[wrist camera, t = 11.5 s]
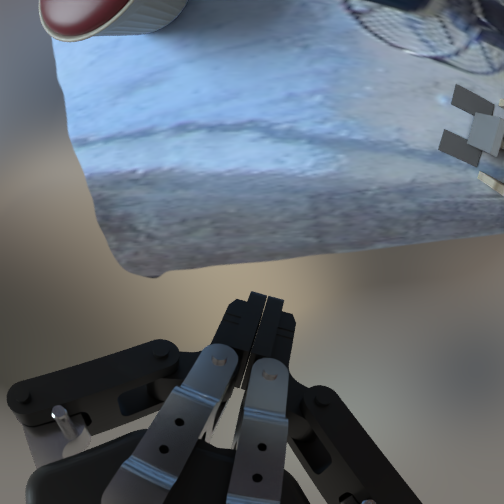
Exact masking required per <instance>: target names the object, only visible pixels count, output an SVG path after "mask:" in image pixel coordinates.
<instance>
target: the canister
mask: <svg viewBox="0 0 504 504" xmlns="http://www.w3.org/2000/svg"><path fill="white" fill-rule="evenodd" d="M187 1H188V0H39V16H40V20H41V23H42V25H43V27H44V29H45V30H46V32H47V33H48V34H49V35H50V36H51V37H53V38H55V39H57V40H59V41H63V42H77V41H82V40H85V39H88V38H90V37H92V36H121V35H141V34H148V33H150V32H155V31H157V30H159V29H162V28H163V27H164V26H167V25H168V24H169V23H170V22H172V21H174V19H175V18H176V17H178V16H179V14H180V13H181V12H182V11H183V9H184V7H185V6H186V3H187Z"/></svg>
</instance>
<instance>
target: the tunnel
mask: <svg viewBox="0 0 504 504" xmlns="http://www.w3.org/2000/svg"><path fill="white" fill-rule="evenodd" d="M499 106H500V107H502V108H503V109H504V99H500V102H499ZM478 179H479V180H481V181H482V182H484V183H485V184H487V185H488V186H490V187H491V188H493V189H494V190H495V191H497V192H498V193H500V194H501V195H502V196H504V183H502V182H500V181H498V180H496V179H494V178H493V177H491V176H489V175H487V174H485V173H483V172H481V171H480V172H479V175H478Z"/></svg>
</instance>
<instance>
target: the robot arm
mask: <svg viewBox="0 0 504 504" xmlns="http://www.w3.org/2000/svg"><path fill="white" fill-rule="evenodd" d="M266 298H267V296H266V295H263V294H260V293H256V292H253V291H252V292H251V293H250V296H249V298H248V301H247V302H246V301H243V300H239V299H236V300H235V301H233V302H232V303H231V304H229V306H228V308H227V310H226V312H225V314H224V316H223V319H222V321H221V323H220V325H219V327H218V329H217V332H216V334H215V336H214V338H213V340H212V342H211V344H210V345H208V346H207V347H205V348H204V349H203V350H202V351H199V352H179V349H178V348H177V346H176V345H175V344H173V343H172V342H170V341H167V340H163V339H158V340H153V341H150V342H147V343H144V344H141V345H138V346H135V347H132V348H129V349H126V350H123V351H120V352H117V353H114V354H111V355H107V356H104V357H101V358H98V359H95V360H92V361H89V362H85V363H82V364H79V365H76V366H72V367H69V368H66V369H62V370H59V371H55V372H52V373H49V374H45V375H42V376H38V377H35V378H31V379H27V380H24V381H20V382H17V383H15V384H14V385H12V387H11V388H10V389H9V391H8V394H7V403H8V406H9V407H10V409H11V410H12V411H13V413H14V414H15V416H16V418H17V420H18V421H19V422H20V424H21V425H22V426H23V429H24V433H25V436H26V439H27V442H28V445H29V448H30V451H31V454H32V457H33V460H34V463H35V466H36V468H37V470H36V471H35V472H33V474H32V475H31V476H30V478H29V480H28V483H27V485H26V504H310V502H309V501H308V499H307V497H306V496H305V494H304V492H303V491H302V489H301V487H300V486H299V484H298V483H297V481H296V480H295V479H294V477H293V476H292V475H291V474H290V473H289V472H287V471H286V470H285V469H284V464H285V454H286V444H287V442H288V444H289V445H290V447H291V448H292V450H293V452H294V453H295V455H296V456H297V458H298V459H299V461H300V462H301V464H302V466H303V467H304V469H305V470H306V472H307V474H308V475H309V477H310V478H311V479H312V481H313V483H314V484H315V486H316V487H317V489H318V490H319V492H320V493H321V495H322V496H323V497H324V499H325V500H326V502H327V503H328V504H422V503H421V501H420V500H419V499H418V498H417V496H416V495H415V494H414V492H413V491H412V490H411V489H410V487H409V486H408V485H407V484H406V482H405V481H404V480H403V478H402V477H401V476H400V475H399V473H398V472H397V471H396V470H395V468H394V467H393V466H392V464H391V463H390V462H389V461H388V459H387V458H386V457H385V456H384V454H383V453H382V452H381V450H380V449H379V448H378V447H377V445H376V444H375V443H374V441H373V440H372V439H371V437H370V436H369V435H368V434H367V432H366V431H365V430H364V428H363V427H362V426H361V425H360V423H359V422H358V421H357V419H356V418H355V417H354V416H353V414H352V413H351V412H350V410H349V409H348V408H347V406H346V405H345V404H344V402H343V401H342V400H341V398H340V397H339V396H338V394H336V392H335V391H333V390H332V389H331V388H329V387H326V386H321V385H317V386H313V387H310V388H307V387H305V386H304V385H302V384H300V383H299V382H297V381H296V380H295V379H294V378H293V377H292V376H291V374H290V372H289V360H290V354H291V349H292V343H293V337H294V331H295V326H296V322H295V319H294V317H293V314H290V313H286V312H283V311H282V307H283V303H284V300H282V299H278V298H275V297H271V296H268V299H267V302H266ZM265 302H266V306H265ZM264 306H265V309H264ZM263 309H264V312H263ZM262 313H263V315H262ZM261 317H262V319H261ZM260 320H261V322H260ZM259 324H260V325H259ZM257 331H258V332H257ZM256 334H257V335H256ZM255 337H256V338H255ZM252 347H253V348H252ZM251 350H252V351H251ZM250 353H251V354H250ZM249 356H250V358H249ZM248 360H249V361H248ZM247 363H248V365H247ZM246 366H247V369H246ZM245 369H246V372H245ZM244 372H245V376H244V380H243V383H242V387H241V389H244V390H245V393H244V396H243V399H242V403H241V406H240V411H239V415H238V420H237V425H236V429H235V434H234V439H233V443H232V447H231V449H223V448H216V447H214V446H213V445H211V444H210V441H211V438H212V436H213V433H214V431H215V429H216V426H217V425H218V422H219V420H220V418H221V416H222V414H223V411H224V410H225V408H226V405H227V403H228V400H229V398H230V397H231V395H232V392H233V389H234V387H237V388H240V384H241V381H242V378H243V375H244ZM159 410H160V411H159ZM156 411H159V412H158V414H157V415H156V417H155V419H154V420H153V422H152V423H151V425H150V426H149V428H148V429H142V430H137V431H133V432H130V433H128V434H126V435H123V436H121V437H119V438H116V439H114V440H111V441H109V442H106V443H104V444H101V445H99V446H96V447H94V448H91V449H88V450H86V451H84V452H81V451H83V450H85V449H86V448H87V447H88V445H89V444H90V441H91V436H93V435H96V434H99V433H101V432H104V431H107V430H110V429H113V428H115V427H118V426H121V425H123V424H126V423H129V422H131V421H134V420H136V419H139V418H141V417H144V416H147V415H149V414H151V413H154V412H156ZM79 452H80V453H79Z"/></svg>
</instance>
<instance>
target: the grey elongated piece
mask: <svg viewBox="0 0 504 504" xmlns="http://www.w3.org/2000/svg"><path fill="white" fill-rule="evenodd" d="M503 135H504V120H503V119H502V118H500V117H496V116H491V115H486V114H481V113H476V112H475V116H474V120H473V124H472V127H471V131H470V134H469V138H468V141H467V144H469V145H471V146H473V147H475V148H478V149H480V150H482V151H484V152H487V153H489V154H491V155H493V156H495V157H497V155H498V152H499V149H500V148H502V149H503V150H504V141H503V140H502V138H503Z"/></svg>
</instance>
